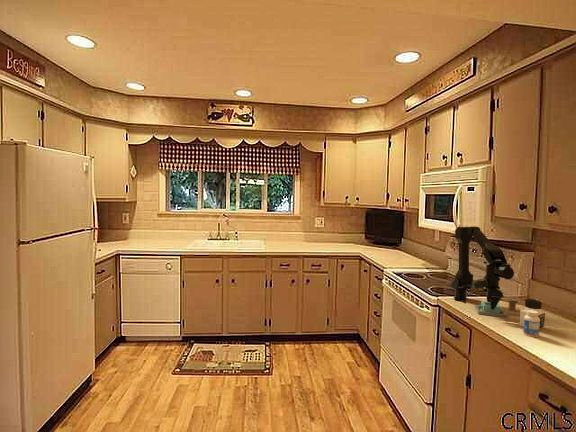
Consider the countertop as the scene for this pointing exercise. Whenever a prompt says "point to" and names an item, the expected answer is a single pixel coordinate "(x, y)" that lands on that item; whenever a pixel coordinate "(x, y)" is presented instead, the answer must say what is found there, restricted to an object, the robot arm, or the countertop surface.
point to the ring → (489, 307)
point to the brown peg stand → (512, 307)
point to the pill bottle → (531, 324)
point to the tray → (491, 313)
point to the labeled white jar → (535, 306)
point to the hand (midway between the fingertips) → (490, 306)
